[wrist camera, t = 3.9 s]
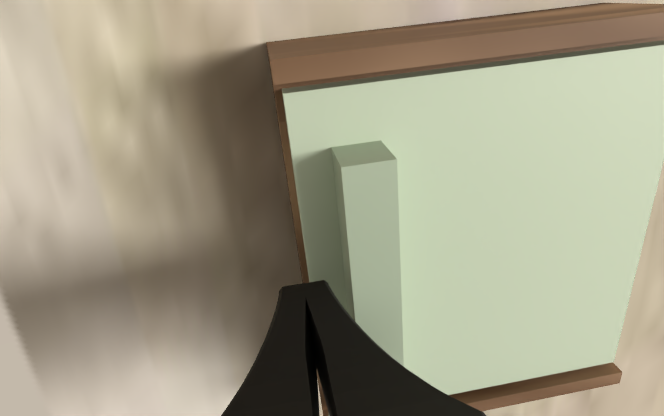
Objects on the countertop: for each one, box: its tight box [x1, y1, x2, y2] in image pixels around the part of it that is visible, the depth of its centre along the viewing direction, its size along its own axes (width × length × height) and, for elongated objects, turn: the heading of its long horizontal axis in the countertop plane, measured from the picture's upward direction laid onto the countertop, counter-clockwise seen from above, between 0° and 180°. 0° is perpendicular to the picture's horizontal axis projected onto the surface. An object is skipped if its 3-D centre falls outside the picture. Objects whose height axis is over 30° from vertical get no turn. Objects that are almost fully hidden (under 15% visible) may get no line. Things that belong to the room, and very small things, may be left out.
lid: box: [282, 40, 664, 395], centre depth 14 cm, size 12×12×2 cm
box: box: [266, 3, 664, 416], centre depth 16 cm, size 14×12×4 cm
